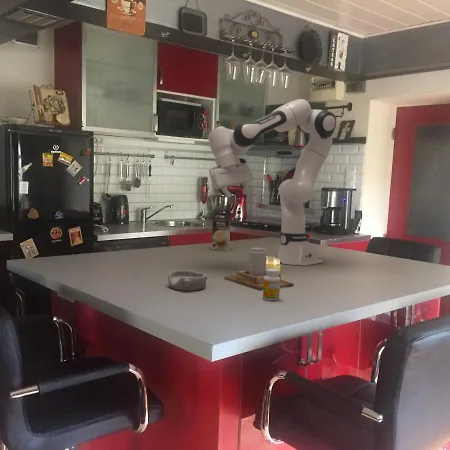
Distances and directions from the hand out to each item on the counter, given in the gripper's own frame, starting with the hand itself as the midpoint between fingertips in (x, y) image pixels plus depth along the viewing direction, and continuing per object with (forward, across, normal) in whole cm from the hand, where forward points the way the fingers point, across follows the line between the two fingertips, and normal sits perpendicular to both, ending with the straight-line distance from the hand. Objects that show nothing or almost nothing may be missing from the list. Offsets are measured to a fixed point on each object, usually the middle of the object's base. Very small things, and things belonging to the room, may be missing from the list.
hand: (237, 195), depth 213 cm
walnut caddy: (+36, -13, -10) cm, 40 cm away
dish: (+30, -40, -5) cm, 51 cm away
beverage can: (+36, -14, -11) cm, 40 cm away
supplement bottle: (+42, -27, -30) cm, 59 cm away
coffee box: (+16, +25, +57) cm, 64 cm away
